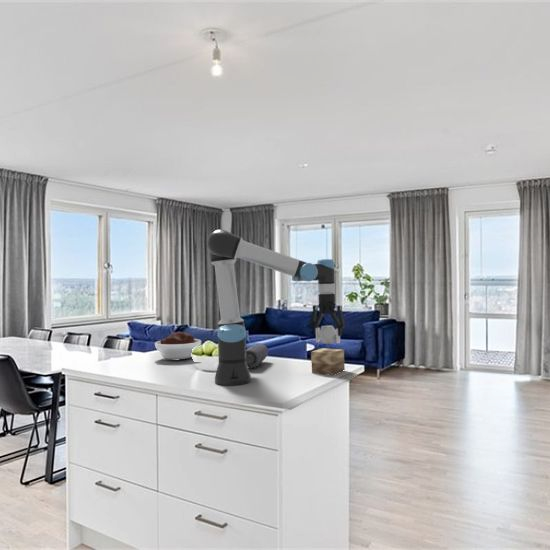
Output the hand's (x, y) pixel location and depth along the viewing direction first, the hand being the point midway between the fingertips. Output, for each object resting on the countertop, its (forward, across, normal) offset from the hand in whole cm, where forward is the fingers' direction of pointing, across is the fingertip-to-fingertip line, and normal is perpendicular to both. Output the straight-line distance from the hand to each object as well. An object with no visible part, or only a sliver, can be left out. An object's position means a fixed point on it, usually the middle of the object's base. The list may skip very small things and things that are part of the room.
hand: (328, 342), depth 221 cm
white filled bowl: (+13, +89, +3) cm, 90 cm away
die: (0, 0, 0) cm, 0 cm away
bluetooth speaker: (+13, +39, +2) cm, 41 cm away
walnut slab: (+14, 0, 0) cm, 14 cm away
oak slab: (+9, 0, 0) cm, 9 cm away
